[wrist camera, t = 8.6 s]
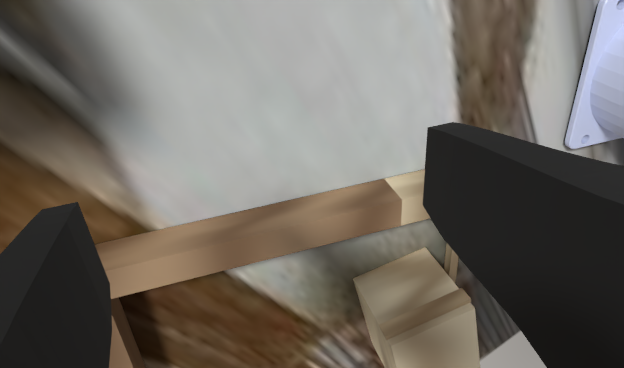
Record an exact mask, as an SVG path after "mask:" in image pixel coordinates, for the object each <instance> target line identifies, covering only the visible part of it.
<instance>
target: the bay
mask: <svg viewBox="0 0 624 368" xmlns="http://www.w3.org/2000/svg"><path fill="white" fill-rule="evenodd" d="M424 176H425V169H424V170H420V171H416V172H411V173H407V174H402V175H398V176H394V177H389V178H385V179H380V180H376V181H372V182H367V183H363V184H358V185H354V186H350V187H345V188H341V189H337V190H332V191H328V192H323V193H319V194H315V195H310V196H306V197H301V198H297V199H293V200H288V201H284V202H279V203H275V204H271V205H266V206H262V207H257V208H253V209H249V210H244V211H240V212H236V213H231V214H227V215H222V216H218V217H214V218H209V219H205V220H200V221H196V222H192V223H187V224H183V225H178V226H174V227H170V228H165V229H161V230H156V231H152V232H148V233H143V234H139V235H134V236H130V237H126V238H121V239H117V240H113V241H108V242H104V243H99V244H95V247H96V250H97V252H98V255H99V257H100V260H101V262H102V265H103V267H104V270H105V272H106V275H107V277H108V280H109V283H110V294H111V312H112V337H111V349H110V361H109V368H146V367H145V365H144V362H143V359H142V357H141V354H140V352H139V349H138V346H137V344H136V341H135V339H134V336H133V333H132V331H131V328H130V326H129V323H128V320H127V318H126V315H125V313H124V310H123V307H122V305H121V302H120V300H119V297H121V296H125V295H129V294H133V293H137V292H141V291H145V290H149V289H153V288H157V287H161V286H165V285H169V284H173V283H176V282H180V281H184V280H188V279H192V278H196V277H200V276H204V275H208V274H212V273H216V272H220V271H224V270H228V269H232V268H236V267H240V266H244V265H248V264H252V263H256V262H259V261H263V260H267V259H271V258H275V257H279V256H283V255H287V254H291V253H295V252H299V251H303V250H307V249H311V248H315V247H319V246H323V245H327V244H331V243H335V242H338V241H342V240H346V239H350V238H354V237H358V236H362V235H366V234H370V233H374V232H378V231H382V230H386V229H390V228H394V227H398V226H402V225H406V224H410V223H414V222H417V221H421V220H425V219H429V218H430V217H429V215H428V213H427V212H426V210H425V208H424V207H423V191H424ZM458 259H459V257H458V255H457V254H456V253H455V252H454V251H453V250H452V248H451V247H450V246H449V245H448V244H446V253H445V262H444V271H445V272H446V273H447V274H448V276H449V277H450V278H451V279H452V281H453V282H454V283H455V282H456V274H457V267H458Z"/></svg>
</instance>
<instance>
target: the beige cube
mask: <svg viewBox="0 0 624 368" xmlns="http://www.w3.org/2000/svg"><path fill="white" fill-rule="evenodd" d="M353 281H354V284H355V287H356V291H357V294H358V297H359V301H360V304H361V308H362V311H363V314H364V318H365V321H366V325H367V328H368V331H369V335H370V338H371V342H372V344H373V346H374V348H375V350H376V352H377V354H378V355H379V357H380V359H381V361H382V363H383V365H384V367H385V368H480V359H479V348H478V337H477V325H476V314H475V308H474V306H473V305H472V304H471V298H470V297H469V296H468V295H467V293H466V292H465V291H464V290H463V288H460V289H459V288H458V287H457V285H456V284H455V283H454V282H453V281H452V279H451V278H450V277H449V276H448V274H447V273H446V272H445V271H444V269H443V268H442V267H441V266H440V265H439V263H438V262H437V261H436V260H435V258H434V257H433V256H432V255H431V254H430V252H429V251H428V250H427V249H426V247H424V248H422V249H420V250H418V251H415V252H413V253H411V254H408V255H406V256H404V257H401V258H399V259H397V260H394V261H392V262H390V263H387V264H385V265H383V266H380V267H378V268H376V269H374V270H371V271H369V272H367V273H364V274H362V275H360V276H357V277H355V278H353Z"/></svg>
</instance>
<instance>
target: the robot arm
mask: <svg viewBox="0 0 624 368" xmlns="http://www.w3.org/2000/svg"><path fill="white" fill-rule="evenodd" d="M618 1H619V3H618ZM617 3H618V5H617ZM619 138H624V0H600V1H599V4H598V7H597V11H596V15H595V19H594V23H593V27H592V31H591V36H590V40H589V44H588V48H587V52H586V56H585V60H584V64H583V68H582V72H581V77H580V81H579V85H578V89H577V93H576V97H575V101H574V105H573V109H572V113H571V118H570V122H569V126H568V130H567V134H566V138H565V145H566V146H568V147H569V148H571V149H577V148H581V147H585V146H589V145H594V144H598V143H602V142H606V141H611V140H615V139H619ZM423 207H424V208H425V210H426V212H427V213H428V215H429V217H430V218H431V220H432V222H433V223H434V225H435V226H436V228H437V229H438V231H439V232H440V234H441V235H442V237H443V238H444V240H445V241H446V242H447V244H448V245H449V246H450V247H451V248H452V250H453V251H454V252H455V253H456V254H457V255H458V257H459V258H460V259H461V260H462V261H463V263H464V264H465V265H466V266H467V267H468V268H469V269H470V271H471V272H472V273H473V274H474V275H475V276H476V278H477V279H478V280H479V281H480V282H481V283H482V284H483V286H484V287H485V288H486V289H487V290H488V291H489V293H490V294H491V295H492V296H493V297H494V298H495V299H496V301H497V302H498V303H499V304H500V305H501V306H502V308H503V309H504V310H505V311H506V312H507V313H508V315H509V316H510V317H511V318H512V320H513V321H514V322H515V323H516V325H517V326H518V327H519V328H520V330H521V331H522V332H523V334H524V335H525V337H526V338H527V340H528V341H529V342H530V344H531V345H532V347H533V348H534V350H535V351H536V352H537V354H538V355H539V357H540V358H541V360H542V361H543V362H544V364H545V365H546V367H547V368H624V166H620V165H616V164H611V163H607V162H603V161H599V160H595V159H590V158H586V157H582V156H578V155H574V154H571V153H567V152H563V151H559V150H556V149H552V148H549V147H545V146H542V145H538V144H535V143H531V142H528V141H524V140H521V139H518V138H514V137H511V136H507V135H504V134H500V133H497V132H493V131H490V130H486V129H482V128H479V127H475V126H470V125H466V124H461V123H454V122H452V123H447V124H442V125H438V126H433V127H428V133H427V147H426V162H425V176H424V191H423ZM111 337H112V312H111V294H110V283H109V280H108V277H107V275H106V272H105V270H104V267H103V265H102V262H101V260H100V257H99V255H98V252H97V250H96V247H95V245H94V242H93V240H92V237H91V235H90V232H89V230H88V227H87V225H86V222H85V219H84V217H83V214H82V212H81V209H80V207H79V204H78V202H75V203H71V204H66V205H61V206H57V207H52V208H47V209H42V210H41V211H40V212H39V213H38V214H37V215H36V216H35V217H34V218H33V219H32V220H31V221H30V222H29V223H28V224H27V226H26V227H25V228H24V229H23V230H22V231H21V232H20V233H19V234H18V235H17V237H16V238H15V239H14V240H13V241H12V242H11V243H10V244H9V245H8V247H7V248H6V249H5V250H4V251H3V252H2V253H1V254H0V368H109V361H110V349H111Z"/></svg>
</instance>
